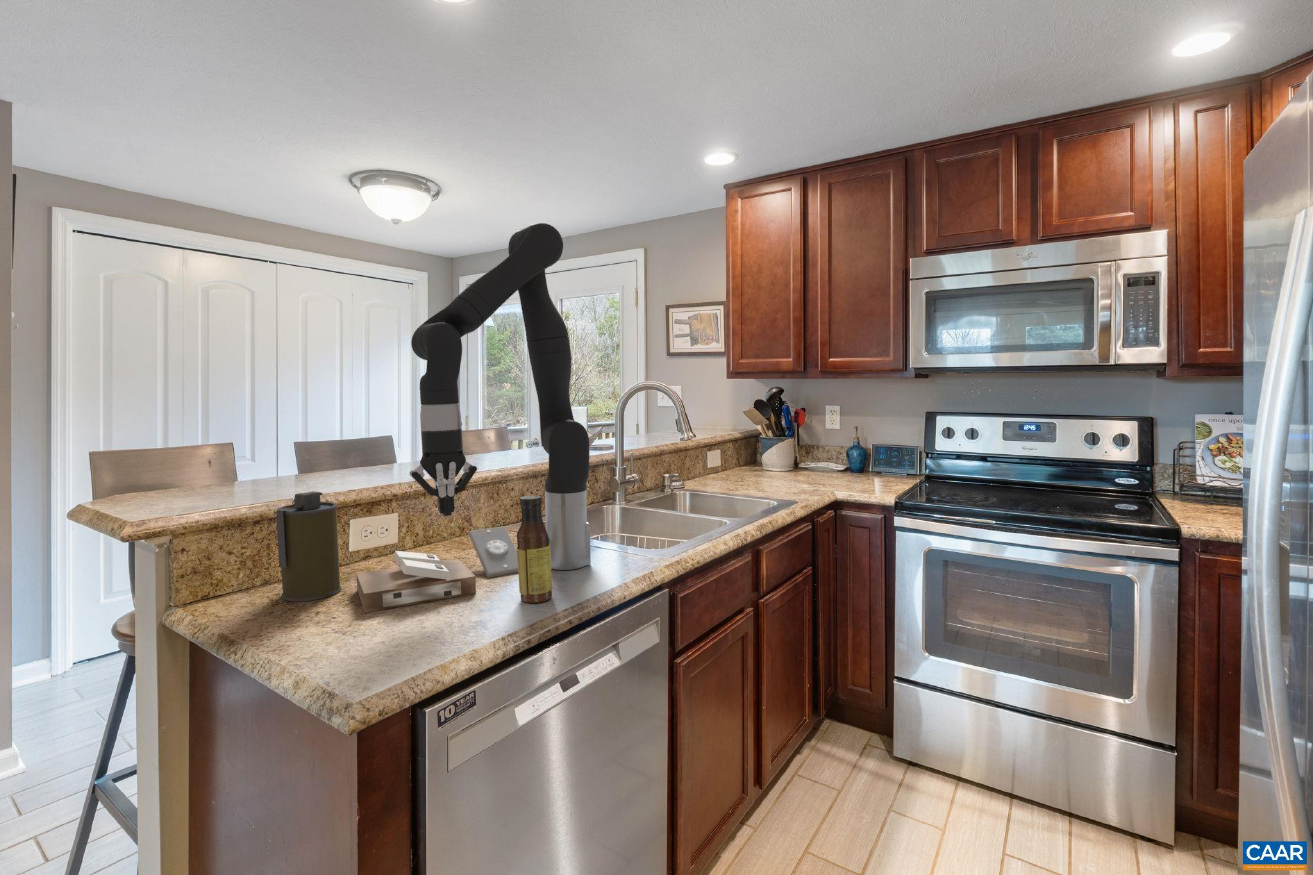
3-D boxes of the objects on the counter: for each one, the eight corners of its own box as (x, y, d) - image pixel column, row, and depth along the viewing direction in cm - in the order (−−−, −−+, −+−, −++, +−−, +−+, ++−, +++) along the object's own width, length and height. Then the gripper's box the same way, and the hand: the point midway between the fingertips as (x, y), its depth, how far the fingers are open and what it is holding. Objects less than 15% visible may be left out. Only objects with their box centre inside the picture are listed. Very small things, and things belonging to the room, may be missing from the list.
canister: (318, 581, 131) (314, 487, 130) (353, 588, 127) (348, 491, 125) (267, 597, 122) (261, 496, 120) (302, 606, 117) (296, 500, 115)
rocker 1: (433, 562, 132) (435, 553, 132) (438, 568, 128) (440, 559, 128) (393, 558, 128) (395, 549, 128) (397, 564, 124) (399, 555, 124)
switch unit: (459, 574, 136) (458, 559, 135) (477, 594, 123) (476, 577, 123) (357, 590, 126) (356, 573, 125) (365, 613, 113) (364, 594, 113)
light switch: (488, 571, 133) (469, 527, 143) (485, 591, 136) (465, 547, 146) (526, 564, 138) (505, 522, 148) (522, 584, 141) (501, 541, 150)
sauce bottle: (558, 595, 122) (556, 495, 121) (542, 606, 117) (540, 500, 115) (528, 591, 125) (526, 493, 123) (511, 602, 119) (509, 498, 117)
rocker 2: (441, 572, 125) (443, 564, 125) (446, 579, 121) (449, 570, 121) (399, 567, 121) (402, 558, 121) (404, 573, 117) (406, 564, 117)
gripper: (470, 424, 128) (474, 507, 130) (401, 428, 121) (407, 516, 123) (480, 426, 122) (485, 513, 124) (409, 430, 115) (414, 523, 117)
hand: (446, 515), depth 123 cm, fingers closed
